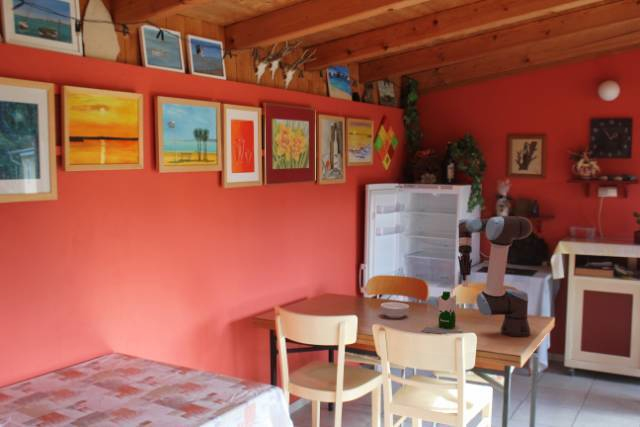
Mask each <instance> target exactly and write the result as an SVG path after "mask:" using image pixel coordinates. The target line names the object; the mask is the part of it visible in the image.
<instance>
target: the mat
mask: <svg viewBox="0 0 640 427" xmlns="http://www.w3.org/2000/svg"><path fill="white" fill-rule="evenodd" d="M420 332H421V333H427V332H428V333H427V334H435V335H442V334H447V333H461V334H463V330H456V329H445V328H439V327H432V326H425V327H424V328H423V329H421V330H420Z"/></svg>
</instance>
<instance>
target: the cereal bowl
mask: <svg viewBox="0 0 640 427" xmlns="http://www.w3.org/2000/svg"><path fill="white" fill-rule="evenodd" d="M380 311H381V313H382V314H383V315H385V316H387V318H389V319H401V318H402V317H406V316H407V314H408V313H409V311H410V305H409V304H407V303H402V302H392V301H391V302H390V301H388V302H383V303H381V304H380Z"/></svg>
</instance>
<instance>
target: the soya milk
mask: <svg viewBox="0 0 640 427" xmlns="http://www.w3.org/2000/svg"><path fill="white" fill-rule="evenodd" d="M456 313H457V294H453V293H451V291H444V290H443V291H442V293H441V294H440V295H438V328H441V329H449V330H453V329H454V328H455V327H456V320H457V319H456V316H457V314H456Z"/></svg>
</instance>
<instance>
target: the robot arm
mask: <svg viewBox="0 0 640 427" xmlns="http://www.w3.org/2000/svg"><path fill="white" fill-rule="evenodd" d="M457 227H458V241H457V242H458V253H460V255H458V256H457V260H458V264H459V272H460V276H462V287H464V288H465V287H466V288H467V287H469V276H471V270H472V263H473V259H472V258H471V253H472V252H473V247H472V246H473V234H474V233H477V234H478V233H485V237H486V238H487V240H488V243H490V253H489V260H488V267H487V274H486V282H485V286H483V287H482V290H481V292H479V293H478V294H476V295H477V296H476V304H477V308H478V311H479V312H480V314H481V315H483V316H500V315H501V316H503V315H504V319H503V321H502V324H501V328H500V333H501V334H502V335H505V336H509V337H516V338H517V337H519V338H522V337H529V336H530V335H531V328H530V324H529V320H528V312H529V311H528V310H529V309H528V307H529V295H528V293H527V292H526V291H523V290H519V289H514V288H505V290H504V282H505V274H506V267H507V262H508V254H509V247H510V246H511V247H512V245H513V240H521V239H526V238H527V237H529V236H530V235H531V234H532V231H533V225H532V222H531V220H529V219H528V218H527V217H525V216H500V215H499V216H494V217H490V218H487V219H485V218H482V219H481V218H478V217H473V218H472V217H471V218H462V219H459V220H458V226H457Z"/></svg>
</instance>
